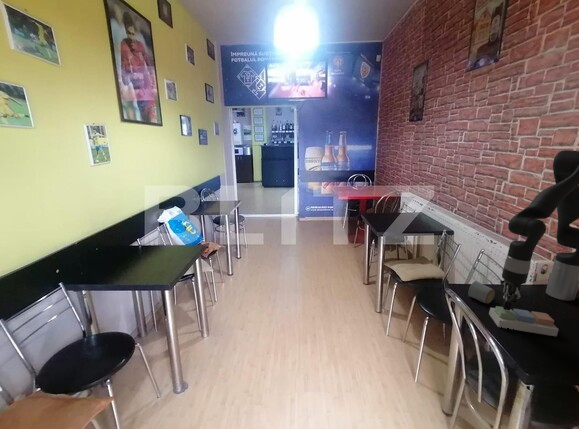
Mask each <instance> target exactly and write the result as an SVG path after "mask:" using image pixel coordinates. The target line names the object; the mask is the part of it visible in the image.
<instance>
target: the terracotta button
mask: <svg viewBox="0 0 579 429" xmlns="http://www.w3.org/2000/svg"><path fill="white" fill-rule="evenodd" d="M530 313H531V314H532V315H533V316H534V318H535V320H534V321H535V322H536V323H537V324H542V325H548V326H553V324H554V323H555V319H553V318H552V317H551V316H550V315H549V314H548V313H546V312H539V311H530ZM554 325H555V324H554Z"/></svg>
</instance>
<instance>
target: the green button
mask: <svg viewBox="0 0 579 429" xmlns="http://www.w3.org/2000/svg"><path fill="white" fill-rule="evenodd" d="M494 308H495V313H496V314H497V315H498V317H499V318H503V319H509V320H515V317H516V315H515V313H514V312H513V309H510V310H504V309H503V307H502V306H498V305H496V306H495V307H494Z"/></svg>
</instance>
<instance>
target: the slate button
mask: <svg viewBox="0 0 579 429" xmlns="http://www.w3.org/2000/svg"><path fill="white" fill-rule="evenodd" d="M512 311H513V312H514V313H515V315H516V317H515V318H516V319H517V320H518V321H522V322H529V323H534V320H535V318H534V316H533V315H532V314H531V311H529V310H526V309H519V308H512Z"/></svg>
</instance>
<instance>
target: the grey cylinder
mask: <svg viewBox="0 0 579 429" xmlns="http://www.w3.org/2000/svg"><path fill="white" fill-rule="evenodd" d="M467 293H468V297H470V298H472V299H474V300H477V301H479V302H482V303H484V304H491V302H492V301H493V299H494V297H495V295H496V294H495V293H496V292H495V290H494V289H493V288H491V287H489V286H487V285H485V284H483V283H481V282H479V281H477V280H476V281H473V282H472V283H471V284H470V286H469V288H468V292H467Z"/></svg>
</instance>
